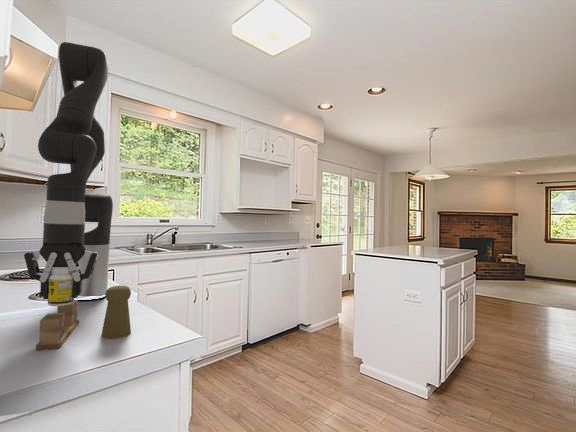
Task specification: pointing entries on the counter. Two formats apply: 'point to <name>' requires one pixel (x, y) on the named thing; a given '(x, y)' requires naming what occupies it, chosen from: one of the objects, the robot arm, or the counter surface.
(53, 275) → the supplement bottle
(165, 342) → the counter surface
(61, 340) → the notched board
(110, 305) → the brown tapered upright piece
